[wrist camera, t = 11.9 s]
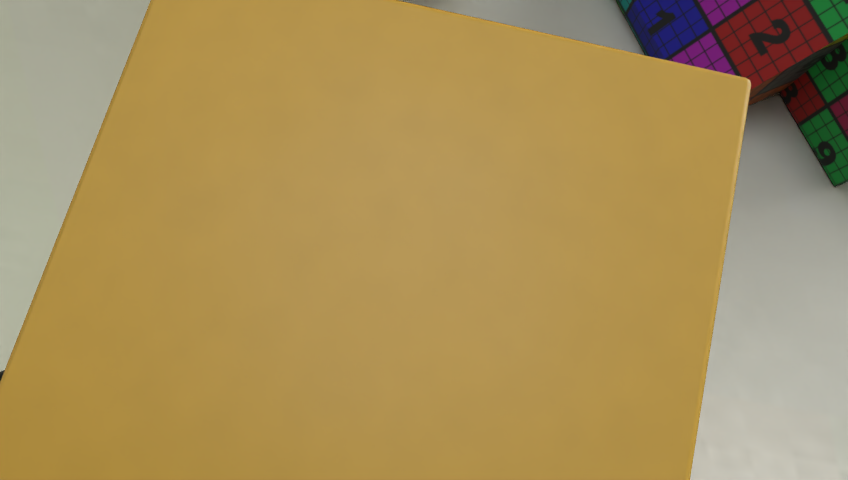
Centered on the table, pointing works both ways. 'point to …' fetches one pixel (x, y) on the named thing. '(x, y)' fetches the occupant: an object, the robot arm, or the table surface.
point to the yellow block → (380, 256)
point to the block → (764, 56)
